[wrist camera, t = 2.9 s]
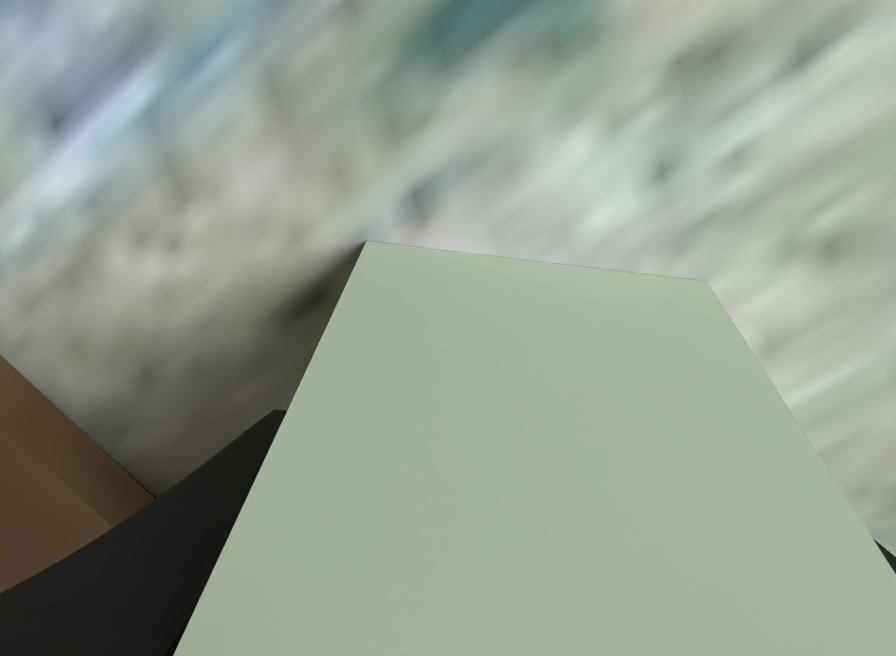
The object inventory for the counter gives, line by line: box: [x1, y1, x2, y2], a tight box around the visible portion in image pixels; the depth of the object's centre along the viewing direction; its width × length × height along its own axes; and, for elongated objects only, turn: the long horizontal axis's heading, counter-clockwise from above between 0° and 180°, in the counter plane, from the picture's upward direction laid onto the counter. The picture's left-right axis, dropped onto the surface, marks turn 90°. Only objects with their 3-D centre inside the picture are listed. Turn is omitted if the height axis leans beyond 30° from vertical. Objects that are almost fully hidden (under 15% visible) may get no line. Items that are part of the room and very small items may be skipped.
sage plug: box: [173, 241, 896, 656], centre depth 8 cm, size 4×4×8 cm
